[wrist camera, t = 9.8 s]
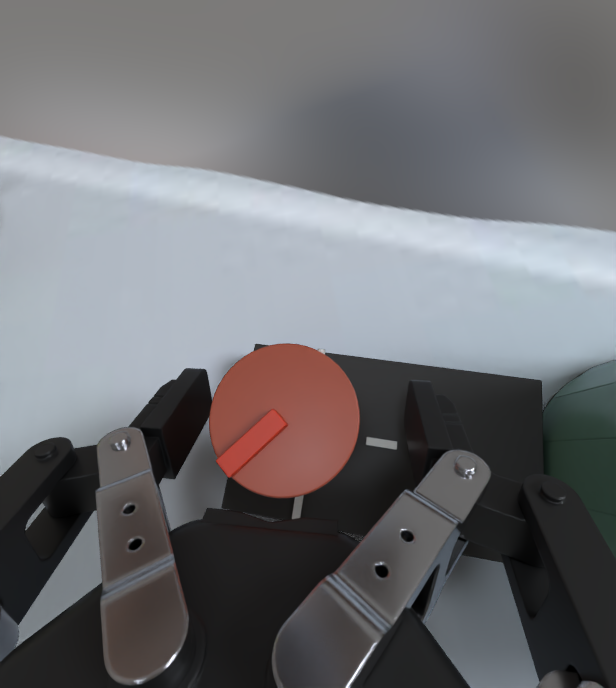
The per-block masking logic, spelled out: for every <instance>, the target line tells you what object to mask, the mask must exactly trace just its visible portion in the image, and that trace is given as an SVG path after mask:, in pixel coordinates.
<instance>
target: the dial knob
mask: <svg viewBox="0 0 616 688" xmlns="http://www.w3.org/2000/svg"><path fill="white" fill-rule="evenodd" d="M359 424H360V413H359V405H358V400H357V397H356V394H355V390H354V388H353V386H352V384H351V382H350V380H349V379H348V377H347V375H346V374H345V372H344V371H343V370H342V369H341V368H340V367H339V365H337V364H336V363H335V362H334V361H333V360H332V359H331V358H329V357H328V356H326V355H325V354H323V353H321V352H319V351H317V350H315V349H313V348H310V347H307V346H303V345H298V344H275V345H270V346H266V347H263V348H260V349H258V350H255V351H253V352H251V353H250V354H248V355H246V356H244V357H243V358H242V359H241V360H239V361H238V362H237V363H236V364H235V365H234V366H233V367H232V368H231V369H230V370H229V371H228V372H227V373H226V375H225V376H224V377H223V379H222V380H221V382H220V384H219V385H218V388H217V390H216V392H215V394H214V397H213V401H212V404H211V409H210V417H209V429H210V437H211V442H212V445H213V448H214V452H215V454H216V456H217V458H218V459H217V460H216V462H217V464H218V465H219V466H220V468H221V469H222V470H223V471H224V473H225V474H226V475H227V477H228V478H230V477H231V478H233V479H234V480H235V481H236V482H237V483H238V484H240V485H241V486H243V487H244V488H246V489H248V490H250V491H252V492H254V493H256V494H259V495H263V496H266V497H272V498H293V497H299V496H302V495H306V494H309V493H311V492H313V491H315V490H318V489H319V488H321V487H323V486H324V485H326V484H327V483H328V482H330V481H331V480H332V479H333V478H334V477H336V475H337V474H338V473H339V472H340V471H341V470H342V469H343V467H344V466H345V464H346V463H347V461H348V460H349V458H350V456H351V454H352V452H353V450H354V447H355V444H356V441H357V438H358V433H359Z"/></svg>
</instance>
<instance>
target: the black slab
mask: <svg viewBox="0 0 616 688" xmlns="http://www.w3.org/2000/svg"><path fill="white" fill-rule="evenodd" d="M266 346H270V345H262V344H255V348H254V351H255V350H258V349H260V348H263V347H266ZM318 351H319V352H321V353H323V354H325V355H326V356H328V357H329V358H331V359H332V360H333V361H334V362H335V363H336V364H337V365H339V367H340V368H341V369H342V370H343V371H344V372H345V374H346V375H347V377H348V379H349V380H350V382H351V384H352V386H353V388H354V390H355V394H356V397H357V400H358V405H359V413H360V424H359V433H358V438H357V441H356V444H355V447H354V450H353V452H352V454H351V456H350V458H349V460H348V461H347V463H346V464H345V466H344V467H343V469H342V470H341V471H340V472H339V473H338V474H337V475H336V477H334V478H333V479H332V480H331V481H330V482H328V483H327V484H326V485H324V486H323V487H321V488H319V489H318V490H315V491H313V492H311V493H309V494H306V495H302V496H299V497H293V498H272V497H266V496H263V495H259V494H256V493H254V492H252V491H250V490H248V489H246V488H244V487H243V486H241V485H240V484H238V483H237V482H236V481H235V480H234V479H233V478H231V477H230V478H228V479H227V483H226V488H225V493H224V498H223V503H222V508H223V509H228V510H233V511H240V512H244V513H249V514H254V515H259V516H264V517H269V518H275V519H280V520H289V519H296V518H303V517H309V518H319V519H330V520H339V521H338V531H342V532H347V533H352V534H357V535H362V536H366V535H367V534H368V532H369V531H370V530H371V529H372V528H373V526H374V525H375V524H376V523H377V522H378V521H379V519H380V518H381V517H382V516H383V515H384V513H385V512H386V511H387V510H388V509H389V508H390V506H391V505H392V504H393V503H394V502H395V500H396V499H397V498H398V497H399V496H400V495H401V493H402V492H403V491H405V490H406V489H410V490H411V491H413V490H414V489H415V482H414V477H413V471H412V466H411V461H410V455H409V450H408V444H407V439H406V433H405V427H404V413H405V405H406V398H407V392H408V385H409V381H410V380H423V381H431V383H432V386H433V389H434V392H435V394H437V395H445V396H447V397H448V398H449V399H450V400H451V401H452V402H453V403H454V405H455V407H456V410H457V412H458V416H459V417H460V420H461V424H462V425H463V427H464V430H465V432H466V435H467V437H468V440H469V442H470V445H471V448H472V450H473V453H474V454H475V455H477V456H479V457H480V458H481V459H483V460H484V461H485V462H486V464H487V465H488V466H489V468H490V471H491V472H493V473H495V474H497V475H499V476H502V477H505V478H508V479H512V480H515V481H518V482H521V483H523V481H524V479H525V478H526V477H527V476H529V475H532V474H544V457H543V414H542V381H541V380H534V379H526V378H518V377H510V376H503V375H495V374H487V373H479V372H471V371H464V370H456V369H448V368H440V367H433V366H425V365H417V364H409V363H402V362H394V361H386V360H378V359H371V358H363V357H355V356H347V355H339V354H332V353H325V350H324V349H318ZM461 555H466V556H471V557H476V558H481V559H486V560H491V561H497V562H502V563H503V560H502V556H501V553H499V552H496V551H494V550H491V549H488V548H486V547H483V546H481V545H478V544H476V543H473V542H471V541H469V542H468V544H467V546H466V548H465V549H464V551H463V553H462V554H461Z"/></svg>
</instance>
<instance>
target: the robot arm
mask: <svg viewBox="0 0 616 688" xmlns="http://www.w3.org/2000/svg"><path fill="white" fill-rule="evenodd" d="M211 404H212V397H211V391H210V386H209V380H208V375H207V371H206V370H205V369H193V368H186V369H184V371H183V372H182V373H181V374H180V376H179V377H178V378H177V380H171V381H169V382H168V383H166V384H165V385H163V386H162V387H161V388H160V389H159V390H158V391H157V393H156V394H155V395H154V397H152V399H151V400H150V401H149V404H147V405H146V406H145V407H144V408H143V410H142V411H141V412H140V413H139V415H138V416H137V417H136V418H135V419H134V421H133V422H132V423H131V424H130V426H129V427H124V428H120V429H117V430H114V431H112V432H110V433H108V434H107V435H105V436H104V437H103V438H102V439H101V440H100V441H99V443H98V445H93V446H87V447H81V448H75V449H74V448H73V445H72V443H71V441H70V440H69V439H67V438H63V437H57V438H51V439H48V440H45V441H42V442H40V443H38V444H36V445H34V446H33V447H31V448H30V449H28V450H27V451H26V452H25V453H24V454H23V455H22V456H21V457H20V458H19V459H18V460H17V461H16V462H15V463H14V464H13V465H12V466H11V467H10V468H9V469H8V470H7V471H6V472H5V473H4V474H3V475H2V476H1V477H0V688H470V686H469V685H468V684H467V682H466V681H465V679H464V678H463V677H462V675H461V674H460V673H459V671H458V670H457V669H456V667H455V666H454V664H453V663H452V662H451V660H450V659H449V658H448V656H447V655H446V653H445V652H444V651H443V649H442V648H441V647H440V645H439V644H438V643H437V641H436V640H435V638H434V637H433V636H432V634H431V633H430V632H429V630H428V629H427V628H426V626H425V623H426V621H427V619H428V618H429V616H430V614H431V612H432V610H433V608H434V606H435V604H436V602H437V600H438V597H439V595H440V593H441V590H442V588H443V586H444V584H445V582H446V581H447V579H448V577H449V575H450V574H451V572H452V570H453V568H454V567H455V565H456V563H457V561H458V560H459V558H460V556H461V554H462V553H463V551H464V549H465V548H466V546H467V544H468V542H469V541H471V542H473V543H476V544H478V545H481V546H483V547H486V548H488V549H491V550H494V551H496V552H499V553H501V556H502V560H503V563H504V566H505V570H506V573H507V576H508V580H509V583H510V586H511V589H512V593H513V596H514V599H515V603H516V606H517V609H518V612H519V616H520V619H521V622H522V626H523V629H524V632H525V636H526V639H527V642H528V645H529V649H530V652H531V655H532V659H533V662H534V665H535V669H536V672H537V675H538V678H539V682H540V683H539V684H538V686H537V687H536V688H616V558H615V557H614V555H613V553H612V551H611V550H610V548H609V546H608V545H607V543H606V541H605V539H604V538H603V536H602V534H601V533H600V531H599V529H598V527H597V526H596V524H595V522H594V521H593V519H592V517H591V515H590V514H589V512H588V510H587V509H586V507H585V505H584V503H583V502H582V500H581V498H580V497H579V495H578V494H577V493H576V492H575V490H573V489H572V488H571V487H570V486H569V485H567V484H566V483H564V482H563V481H561V480H559V479H557V478H554V477H552V476H548V475H544V474H532V475H529V476H527V477H526V478H525V479H524V481H523V483H521V482H518V481H515V480H512V479H508V478H505V477H502V476H499V475H497V474H495V473H493V472H491V471H490V468H489V466H488V465H487V464H486V462H485V461H484V460H483V459H481V458H480V457H479V456H477V455H475V454H474V453H473V450H472V448H471V445H470V442H469V440H468V437H467V435H466V432H465V430H464V427H463V425H462V424H461V420H460V417H459V416H458V412H457V410H456V407H455V405H454V403H453V402H452V401H451V400H450V399H449V398H448V397H447V396H445V395H437V394H435V392H434V389H433V386H432V383H431V381H423V380H410V381H409V385H408V392H407V398H406V405H405V413H404V427H405V433H406V439H407V444H408V450H409V455H410V461H411V466H412V471H413V477H414V482H415V489H414V490H413V491H411V490H410V489H406V490H405V491H403V492H402V493H401V495H400V496H399V497H398V498H397V499H396V500H395V502H394V503H393V504H392V505H391V506H390V508H389V509H388V510H387V511H386V512H385V513H384V515H383V516H382V517H381V518H380V519H379V521H378V522H377V523H376V524H375V525H374V526H373V528H372V529H371V530H370V531H369V532H368V534H367V535H366V536H365V537H364V538H363V539H362V541H361V542H358V541H357V540H355V539H354V538H352V537H350V536H348V535H346V534H344V533H341V532H339V531H338V521H339V520H330V519H319V518H309V517H303V518H296V519H289V520H282V521H275V522H268V521H264V520H262V519H259V518H256V517H254V516H251V515H248V514H245V513H243V512H240V511H233V510H223V509H212V508H207V509H206V512H205V514H204V517H203V519H200V520H196V521H192V522H189V523H186V524H184V525H181V526H179V527H177V528H175V529H174V530H172V531H171V528H170V524H169V520H168V517H167V513H166V509H165V506H164V502H163V498H162V494H161V491H160V487H159V484H160V482H161V480H162V478H167V479H175V478H176V476H177V475H178V473H179V471H180V469H181V467H182V465H183V464H184V462H185V460H186V458H187V456H188V454H189V453H190V451H191V449H192V447H193V445H194V443H195V442H196V440H197V438H198V436H199V434H200V433H201V431H202V429H203V427H204V425H205V423H206V422H207V420H208V418H209V416H210V409H211ZM42 502H43V504H44V506H45V508H44V509H43V510H42V511H41V513H40V514H39V515H38V516H37V517H36V519H35V520H34V521H33V522H32V524H31V525H30V526H29V527H28V529H27V530H26V531H25V527H26V524H27V522H28V520H29V518H30V517H31V515H32V514H33V513H34V512H35V510H36V509H37V508H38V507H39V506H40V504H41V503H42ZM95 510H97V519H98V532H99V545H100V559H101V572H102V583H101V584H99V585H98V586H97V587H95V588H94V589H93V590H91V591H90V592H89V593H87V594H86V595H85V596H83V597H82V598H81V599H80V600H78V601H77V602H76V603H74V604H73V605H72V606H70V607H69V608H68V609H66V610H65V611H64V612H62V613H61V614H60V615H58V616H57V617H56V618H54V619H53V620H52V621H50V622H49V623H48V624H46V625H45V626H44V627H42V628H41V629H40V630H38V631H37V632H36V633H34V634H33V635H32V636H30V637H29V638H28V639H27V640H25V641H24V642H23V643H21V644H20V645H19V646H17V647H16V644H17V641H18V637H19V627H18V625H19V624H20V622H21V621H22V619H23V618H24V616H25V615H26V613H27V612H28V610H29V608H30V607H31V605H32V604H33V602H34V601H35V599H36V598H37V596H38V595H39V593H40V592H41V590H42V589H43V587H44V586H45V584H46V583H47V581H48V580H49V578H50V577H51V575H52V574H53V572H54V570H55V569H56V567H57V566H58V564H59V563H60V561H61V560H62V558H63V557H64V555H65V554H66V552H67V551H68V549H69V548H70V546H71V545H72V543H73V542H74V540H75V539H76V537H77V536H78V534H79V532H80V531H81V529H82V528H83V526H84V525H85V523H86V522H87V520H88V519H89V517H90V516H91V514H92V513H93V511H95ZM15 647H16V648H15Z"/></svg>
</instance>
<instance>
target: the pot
mask: <svg viewBox="0 0 616 688" xmlns="http://www.w3.org/2000/svg"><path fill="white" fill-rule="evenodd" d="M543 457H544V475H548V476H552V477H554V478H557V479H559V480H561V481H563V482H564V483H566V484H567V485H569V486H570V487H571V488H572V489H573V490H575V492H576V493H577V494H578V495H579V497H580V498H581V500H582V502H583V503H584V505H585V507H586V509H587V510H588V512H589V514H590V515H591V517H592V519H593V521H594V522H595V524H596V526H597V527H598V529H599V531H600V533H601V534H602V536H603V538H604V539H605V541H606V543H607V545H608V546H609V548H610V550H611V551H612V553H613V555H614V557H615V558H616V360H613V361H610V362H607V363H604V364H601V365H598V366H595V367H592V368H591V369H589V370H588V371H586V372H585V373H584V374H582V375H579V376H578V377H576V378H575V379H573V380H572V381H571V382H569V383H568V384H566V385H565V386H564V387H563V388H562V389H561V390H560V391H559V392H558V393H557V394H556V395H555V396H554V397H553V399H552V400H551V401H550V402H549V404H548V405H547V406H546V408H545V410H544V412H543Z"/></svg>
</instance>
